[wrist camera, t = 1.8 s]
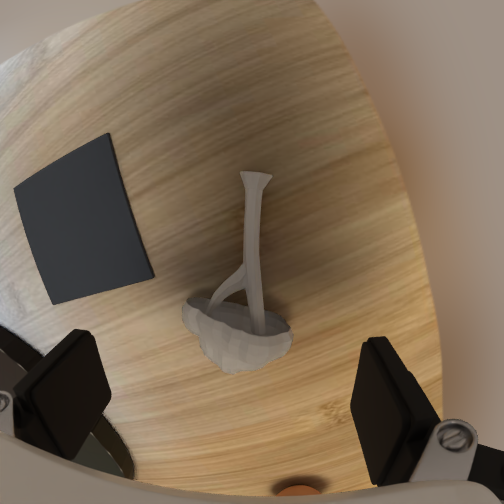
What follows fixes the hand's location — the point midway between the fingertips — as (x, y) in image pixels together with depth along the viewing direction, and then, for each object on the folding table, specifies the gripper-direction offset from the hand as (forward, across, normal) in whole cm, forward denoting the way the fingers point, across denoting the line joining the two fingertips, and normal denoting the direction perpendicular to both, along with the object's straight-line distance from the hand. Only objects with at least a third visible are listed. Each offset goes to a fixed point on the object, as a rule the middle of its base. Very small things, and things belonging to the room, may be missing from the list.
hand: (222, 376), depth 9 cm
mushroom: (+10, 0, 0) cm, 10 cm away
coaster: (+10, +12, -4) cm, 16 cm away
